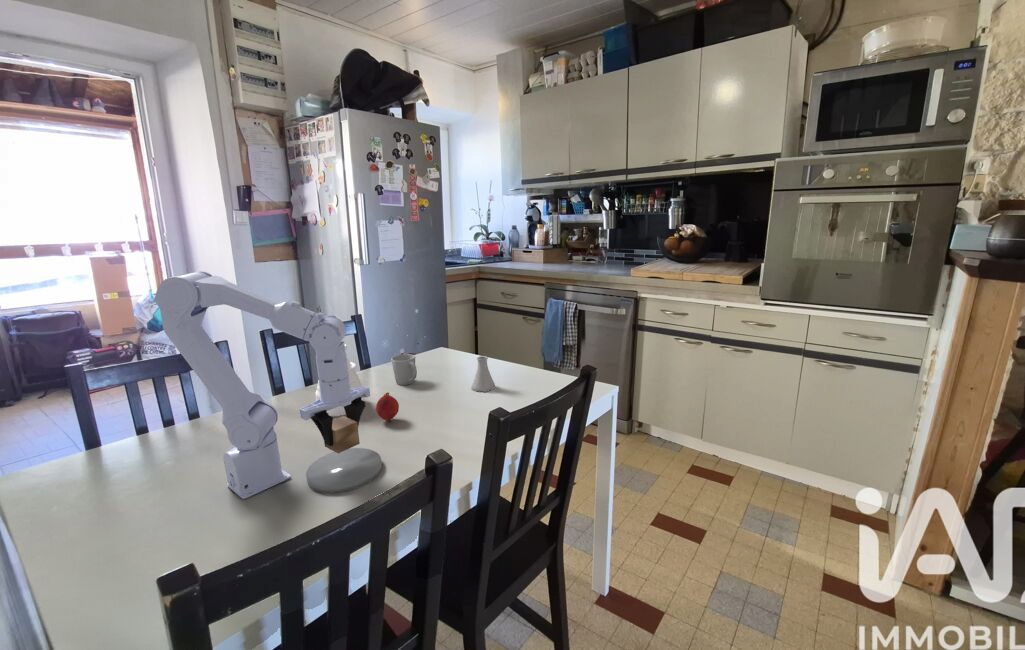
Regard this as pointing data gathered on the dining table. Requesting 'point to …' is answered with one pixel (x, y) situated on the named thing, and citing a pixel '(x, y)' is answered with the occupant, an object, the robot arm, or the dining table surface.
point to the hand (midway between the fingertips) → (341, 438)
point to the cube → (344, 434)
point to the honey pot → (354, 384)
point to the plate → (344, 470)
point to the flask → (483, 376)
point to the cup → (404, 368)
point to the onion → (387, 407)
